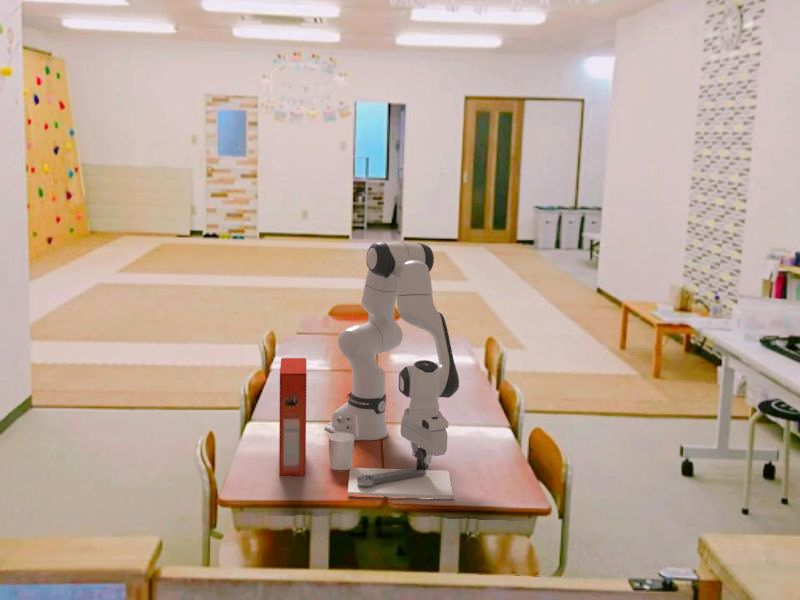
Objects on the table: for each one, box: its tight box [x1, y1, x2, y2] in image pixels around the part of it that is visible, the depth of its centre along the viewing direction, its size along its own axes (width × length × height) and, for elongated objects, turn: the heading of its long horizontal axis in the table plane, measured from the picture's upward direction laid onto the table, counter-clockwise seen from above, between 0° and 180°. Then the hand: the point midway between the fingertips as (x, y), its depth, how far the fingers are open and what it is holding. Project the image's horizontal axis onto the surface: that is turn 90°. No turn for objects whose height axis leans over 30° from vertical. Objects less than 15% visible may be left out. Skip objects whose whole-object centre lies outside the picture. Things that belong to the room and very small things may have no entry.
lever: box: [357, 446, 430, 487], centre depth 255 cm, size 23×5×8 cm, turn 119°
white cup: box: [328, 432, 355, 471], centre depth 267 cm, size 8×8×10 cm
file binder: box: [278, 357, 308, 477], centre depth 265 cm, size 8×17×32 cm, turn 6°
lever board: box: [347, 467, 454, 500], centre depth 256 cm, size 30×18×2 cm, turn 91°
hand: (421, 460), depth 260 cm, fingers open, 5 cm apart
